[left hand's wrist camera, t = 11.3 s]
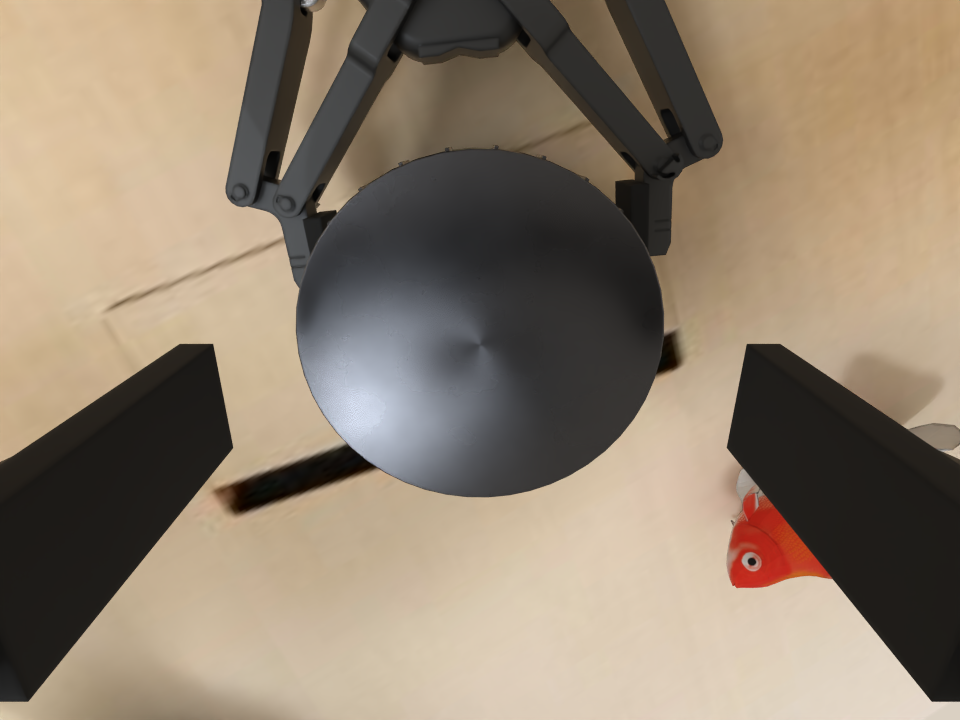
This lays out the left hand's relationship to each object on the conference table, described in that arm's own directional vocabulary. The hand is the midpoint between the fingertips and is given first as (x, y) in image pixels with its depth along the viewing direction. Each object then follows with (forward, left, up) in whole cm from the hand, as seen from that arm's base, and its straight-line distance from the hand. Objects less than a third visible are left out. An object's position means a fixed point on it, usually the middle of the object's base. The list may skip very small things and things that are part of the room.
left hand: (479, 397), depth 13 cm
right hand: (-3, -1, -13) cm, 13 cm away
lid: (0, 0, -4) cm, 4 cm away
